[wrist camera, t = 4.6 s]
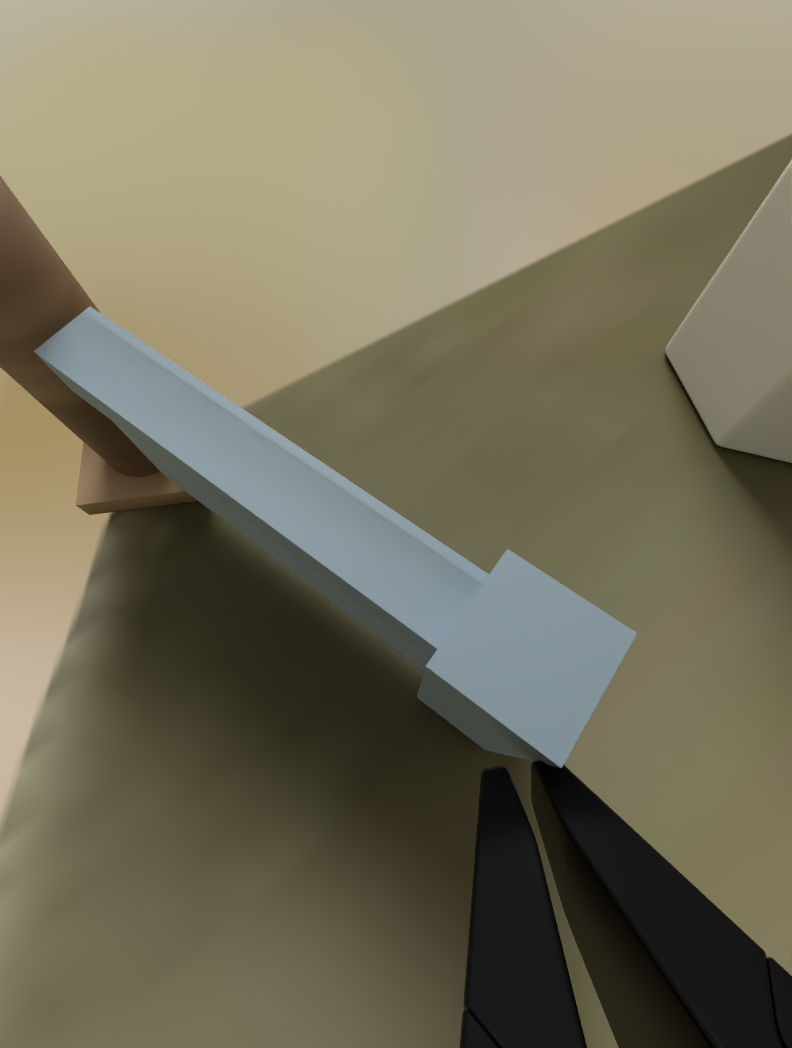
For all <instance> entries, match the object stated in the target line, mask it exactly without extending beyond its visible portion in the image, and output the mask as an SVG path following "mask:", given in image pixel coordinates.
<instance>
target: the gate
mask: <svg viewBox="0 0 792 1048" xmlns="http://www.w3.org/2000/svg"><path fill="white" fill-rule="evenodd" d="M34 352H35V353H36V354H37V356H38V357H39V358H40V359H41V360H42V361H43V362H44V363H45V364H46V365H47V366H48V367H49V368H50V369H51V370H52V371H53V372H54V373H55V374H56V375H57V376H58V377H59V378H60V379H61V380H62V381H63V382H64V383H65V384H66V385H67V386H68V387H69V388H70V389H71V390H72V391H73V392H74V393H76V394H77V395H78V396H80V397H81V398H82V399H84V400H85V401H86V402H88V403H89V404H90V405H92V406H93V407H94V408H96V409H97V410H98V411H100V412H101V413H102V414H104V415H105V416H107V417H108V418H109V419H111V420H112V421H113V422H114V423H115V424H116V425H117V426H118V427H119V429H120V430H121V431H122V432H123V433H124V434H125V435H126V436H127V437H128V438H129V439H130V440H131V441H132V442H133V443H134V444H135V445H136V446H137V447H138V449H139V450H140V451H141V452H142V453H143V454H144V455H145V456H146V457H147V458H148V459H149V460H150V461H151V462H152V463H153V464H154V465H155V466H156V468H157V469H158V470H159V471H160V472H161V473H162V474H163V475H165V476H166V477H167V478H169V479H170V480H171V481H173V482H174V483H175V484H177V485H178V486H179V487H180V488H182V489H183V490H184V491H186V492H187V493H188V494H190V495H191V496H192V497H194V498H195V499H196V500H198V501H199V502H200V503H202V504H203V505H204V506H206V507H207V508H208V509H210V510H211V511H212V512H214V513H215V514H216V515H218V516H219V517H220V518H221V519H223V520H224V521H225V522H227V523H228V524H229V525H231V526H232V527H233V528H235V529H236V530H237V531H239V532H240V533H241V534H243V535H244V536H245V537H247V538H248V539H249V540H251V541H252V542H253V543H255V544H256V545H257V546H259V547H260V548H261V549H262V550H264V551H265V552H266V553H268V554H269V555H270V556H272V557H273V558H274V559H276V560H277V561H278V562H280V563H281V564H282V565H284V566H285V567H286V568H288V569H289V570H290V571H292V572H293V573H294V574H296V575H297V576H298V577H300V578H301V579H302V580H303V581H305V582H306V583H307V584H309V585H310V586H311V587H313V588H314V589H315V590H317V591H318V592H319V593H321V594H322V595H323V596H325V597H326V598H327V599H329V600H330V601H331V602H333V603H334V604H335V605H337V606H338V607H339V608H341V609H342V610H343V611H344V612H346V613H347V614H348V615H350V616H351V617H352V618H354V619H355V620H356V621H358V622H359V623H360V624H362V625H363V626H364V627H366V628H367V629H368V630H370V631H371V632H372V633H374V634H375V635H376V636H378V637H379V638H380V639H382V640H383V641H384V642H385V643H387V644H388V645H389V646H391V647H392V648H393V649H395V650H396V651H397V652H399V653H400V654H401V655H403V656H404V657H405V658H407V659H408V660H409V661H411V662H412V663H413V664H415V665H416V666H417V667H419V668H420V669H421V670H423V671H424V673H423V677H422V680H421V684H420V687H419V691H418V694H417V698H418V699H419V700H421V701H422V702H423V703H425V704H426V705H427V706H428V707H430V708H431V709H432V710H434V711H435V712H436V713H437V714H439V715H440V716H441V717H443V718H444V719H445V720H447V721H448V722H449V723H450V724H452V725H453V726H454V727H456V728H457V729H458V730H459V731H461V732H462V733H463V734H465V735H466V736H467V737H468V738H470V739H471V740H472V741H474V742H475V743H476V744H477V745H479V746H480V747H481V748H483V749H484V750H487V751H491V752H495V753H500V754H504V755H508V756H512V757H516V758H521V759H525V760H529V761H536V760H541V761H543V762H544V763H546V764H548V765H550V766H554V767H559V768H562V766H563V764H564V763H565V761H566V759H567V757H568V756H569V754H570V752H571V750H572V748H573V747H574V745H575V743H576V741H577V740H578V738H579V736H580V734H581V732H582V731H583V729H584V727H585V725H586V724H587V722H588V720H589V718H590V716H591V715H592V713H593V711H594V709H595V708H596V706H597V704H598V702H599V700H600V699H601V697H602V695H603V693H604V692H605V690H606V688H607V686H608V684H609V683H610V681H611V679H612V677H613V676H614V674H615V672H616V670H617V668H618V667H619V665H620V663H621V661H622V660H623V658H624V656H625V654H626V652H627V651H628V649H629V647H630V645H631V643H632V642H633V640H634V638H635V636H636V635H637V633H636V632H634V631H633V630H631V629H630V628H628V627H627V626H625V625H624V624H622V623H621V622H619V621H617V620H616V619H614V618H613V617H611V616H610V615H608V614H607V613H605V612H604V611H602V610H601V609H599V608H597V607H596V606H594V605H593V604H591V603H590V602H588V601H587V600H585V599H584V598H582V597H581V596H579V595H578V594H576V593H574V592H573V591H571V590H570V589H568V588H567V587H565V586H564V585H562V584H561V583H559V582H558V581H556V580H555V579H553V578H551V577H550V576H548V575H547V574H545V573H544V572H542V571H541V570H539V569H538V568H536V567H535V566H533V565H531V564H530V563H528V562H527V561H525V560H524V559H522V558H521V557H519V556H518V555H516V554H515V553H513V552H512V551H510V550H508V549H507V550H506V552H505V553H504V555H503V556H502V557H501V559H500V560H499V562H498V563H497V565H496V566H495V567H494V569H493V570H492V572H491V573H490V575H489V574H487V573H486V572H484V571H483V570H481V569H480V568H478V567H477V566H475V565H474V564H472V563H471V562H469V561H468V560H466V559H465V558H463V557H462V556H460V555H459V554H457V553H456V552H454V551H453V550H451V549H450V548H449V547H447V546H446V545H444V544H443V543H441V542H440V541H438V540H437V539H435V538H434V537H432V536H431V535H429V534H428V533H426V532H425V531H423V530H422V529H420V528H419V527H417V526H416V525H414V524H413V523H411V522H410V521H408V520H407V519H405V518H404V517H402V516H401V515H399V514H398V513H397V512H395V511H394V510H392V509H391V508H389V507H388V506H386V505H385V504H383V503H382V502H380V501H379V500H377V499H376V498H374V497H373V496H371V495H370V494H368V493H367V492H365V491H364V490H362V489H361V488H359V487H358V486H356V485H355V484H353V483H352V482H350V481H349V480H347V479H346V478H345V477H343V476H342V475H340V474H339V473H337V472H336V471H334V470H333V469H331V468H330V467H328V466H327V465H325V464H324V463H322V462H321V461H319V460H318V459H316V458H315V457H313V456H312V455H310V454H309V453H307V452H306V451H304V450H303V449H301V448H300V447H298V446H297V445H295V444H294V443H293V442H291V441H290V440H288V439H287V438H285V437H284V436H282V435H281V434H279V433H278V432H276V431H275V430H273V429H272V428H270V427H269V426H267V425H266V424H264V423H263V422H261V421H260V420H258V419H257V418H255V417H254V416H252V415H251V414H249V413H248V412H246V411H245V410H243V409H242V408H240V407H239V406H238V405H236V404H235V403H233V402H232V401H230V400H229V399H227V398H226V397H224V396H223V395H221V394H220V393H218V392H217V391H215V390H214V389H212V388H211V387H209V386H208V385H206V384H205V383H203V382H202V381H200V380H198V379H197V378H196V377H194V376H193V375H191V374H190V373H188V372H187V371H186V370H184V369H183V368H181V367H180V366H178V365H177V364H175V363H174V362H172V361H171V360H169V359H168V358H166V357H164V356H163V355H162V354H160V353H159V352H157V351H156V350H154V349H153V348H151V347H150V346H148V345H147V344H145V343H144V342H142V341H141V340H139V339H138V338H136V337H135V336H133V335H132V334H131V333H129V332H127V331H126V330H125V329H123V328H122V327H120V326H119V325H117V324H116V323H114V322H113V321H111V320H110V319H108V318H107V317H105V316H104V315H102V314H101V313H99V312H98V311H96V310H95V309H93V308H92V307H88V308H87V309H86V310H85V311H83V312H82V313H81V314H80V315H78V316H77V317H76V318H75V319H73V320H72V321H71V322H70V323H68V324H67V325H66V326H65V327H63V328H62V329H61V330H60V331H58V332H57V333H56V334H55V335H53V336H52V337H51V338H50V339H48V340H47V341H46V342H45V343H43V344H42V345H41V346H40V347H38V348H37V349H36V350H34Z"/></svg>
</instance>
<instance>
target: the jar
mask: <svg viewBox="0 0 792 1048" xmlns="http://www.w3.org/2000/svg"><path fill="white" fill-rule="evenodd" d="M665 353H666V355H667V357H668V359H669V360H670V362H671V364H672V366H673V368H674V370H675V371H676V373H677V375H678V377H679V379H680V380H681V382H682V384H683V386H684V388H685V390H686V391H687V393H688V395H689V397H690V399H691V400H692V402H693V404H694V406H695V408H696V410H697V411H698V413H699V415H700V417H701V419H702V420H703V422H704V424H705V426H706V428H707V429H708V431H709V433H710V435H711V437H712V439H713V440H714V442H715V443H716V445H718V446H720V447H725V448H729V449H733V450H737V451H742V452H746V453H750V454H754V455H759V456H763V457H767V458H771V459H776V460H780V461H784V462H788V463H792V160H791V161H790V163H789V164H788V166H787V167H786V169H785V170H784V172H783V173H782V175H781V176H780V178H779V179H778V181H777V182H776V184H775V185H774V187H773V188H772V190H771V191H770V192H769V194H768V195H767V197H766V198H765V200H764V201H763V203H762V204H761V206H760V207H759V209H758V210H757V212H756V213H755V215H754V216H753V218H752V219H751V221H750V222H749V224H748V225H747V227H746V228H745V230H744V231H743V233H742V234H741V236H740V237H739V239H738V240H737V242H736V243H735V245H734V246H733V248H732V249H731V250H730V252H729V253H728V255H727V256H726V258H725V259H724V261H723V262H722V264H721V265H720V267H719V268H718V270H717V271H716V273H715V274H714V276H713V277H712V279H711V280H710V282H709V283H708V285H707V286H706V288H705V289H704V291H703V292H702V294H701V295H700V297H699V298H698V300H697V301H696V303H695V304H694V306H693V307H692V308H691V310H690V311H689V313H688V314H687V316H686V317H685V319H684V320H683V322H682V323H681V325H680V326H679V328H678V329H677V331H676V332H675V334H674V335H673V337H672V338H671V340H670V341H669V343H668V344H667V346H666V348H665Z"/></svg>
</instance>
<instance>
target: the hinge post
mask: <svg viewBox="0 0 792 1048" xmlns="http://www.w3.org/2000/svg"><path fill="white" fill-rule="evenodd" d="M88 307H92V308H93V309H95V310H96V311H98V312H99V310H98V309H97V307H96V306H95V305H94V303H93V302H92V301H91V299H90V298H89V297H88V295H87V294H86V292H85V291H84V290H83V288H82V287H81V286H80V284H79V283H78V282H77V280H76V279H75V277H74V276H73V275H72V273H71V272H70V271H69V269H68V268H67V267H66V265H65V264H64V262H63V261H62V260H61V258H60V257H59V256H58V254H57V253H56V251H55V250H54V249H53V247H52V246H51V245H50V243H49V242H48V240H47V239H46V238H45V236H44V235H43V234H42V233H41V231H40V230H39V228H38V227H37V225H36V224H35V223H34V221H33V220H32V219H31V217H30V216H29V215H28V213H27V212H26V210H25V209H24V208H23V206H22V205H21V204H20V202H19V201H18V199H17V198H16V197H15V195H14V194H13V193H12V191H11V190H10V189H9V187H8V186H7V185H6V183H5V182H4V180H3V179H2V178H1V176H0V367H1V368H2V369H3V370H4V371H5V372H6V373H8V374H9V375H10V376H11V377H12V378H13V379H14V380H16V381H17V382H18V383H19V384H20V385H21V386H22V387H23V388H24V389H25V390H26V391H28V392H29V393H30V394H31V395H32V396H33V397H34V398H35V399H36V400H38V401H39V402H40V403H41V404H42V405H43V406H44V407H46V408H47V409H48V410H49V411H50V412H51V413H52V414H53V415H54V416H55V417H57V418H58V419H59V420H60V421H61V422H62V423H63V424H64V425H66V426H67V427H68V428H69V429H70V430H71V431H72V432H73V433H74V434H76V435H77V436H78V437H79V438H80V439H81V440H83V442H84V445H83V453H82V460H81V468H80V476H79V484H78V492H77V500H76V506H77V507H79V508H81V509H82V510H83V511H85V512H87V513H88V514H89V515H92V514H100V513H108V512H116V511H124V510H132V509H140V508H148V507H156V506H164V505H173V504H181V503H189V502H197V501H198V500H196V499H195V498H194V497H192V496H191V495H190V494H188V493H187V492H186V491H184V490H183V489H182V488H180V487H179V486H178V485H177V484H175V483H174V482H173V481H171V480H170V479H169V478H167V477H166V476H165V475H163V474H162V473H161V472H160V471H159V470H158V469H157V468H156V466H155V465H154V464H153V463H152V462H151V461H150V460H149V459H148V458H147V457H146V456H145V455H144V454H143V453H142V452H141V451H140V450H139V449H138V447H137V446H136V445H135V444H134V443H133V442H132V441H131V440H130V439H129V438H128V437H127V436H126V435H125V434H124V433H123V432H122V431H121V430H120V429H119V427H118V426H117V425H116V424H115V423H114V422H113V421H112V420H111V419H109V418H108V417H107V416H105V415H104V414H102V413H101V412H100V411H98V410H97V409H96V408H94V407H93V406H92V405H90V404H89V403H88V402H86V401H85V400H84V399H82V398H81V397H80V396H78V395H77V394H76V393H74V392H73V391H72V390H71V389H70V388H69V387H68V386H67V385H66V384H65V383H64V382H63V381H62V380H61V379H60V378H59V377H58V376H57V375H56V374H55V373H54V372H53V371H52V370H51V369H50V368H49V367H48V366H47V365H46V364H45V363H44V362H43V361H42V360H41V359H40V358H39V357H38V356H37V354H36V353H35V352H34V350H36V349H37V348H38V347H40V346H41V345H42V344H43V343H45V342H46V341H47V340H48V339H50V338H51V337H52V336H53V335H55V334H56V333H57V332H58V331H60V330H61V329H62V328H63V327H65V326H66V325H67V324H68V323H70V322H71V321H72V320H73V319H75V318H76V317H77V316H78V315H80V314H81V313H82V312H83V311H85V310H86V309H87V308H88ZM99 313H100V312H99Z"/></svg>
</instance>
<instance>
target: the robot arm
mask: <svg viewBox="0 0 792 1048" xmlns="http://www.w3.org/2000/svg"><path fill="white" fill-rule="evenodd" d="M531 797H532V804H533V808H534V812H535V815H536V819H537V822H538V826H539V829H540V832H541V836H542V839H543V842H544V846H545V849H546V853H547V856H548V859H549V863H550V866H551V869H552V873H553V876H554V880H555V883H556V886H557V890H558V893H559V896H560V899H561V903H562V906H563V909H564V912H565V915H566V917H567V920H568V923H569V925H570V928H571V931H572V933H573V936H574V938H575V941H576V943H577V946H578V948H579V951H580V953H581V956H582V958H583V961H584V963H585V965H586V968H587V970H588V973H589V975H590V978H591V980H592V983H593V985H594V988H595V990H596V993H597V995H598V998H599V1000H600V1003H601V1005H602V1008H603V1010H604V1012H605V1015H606V1017H607V1020H608V1022H609V1025H610V1027H611V1030H612V1032H613V1035H614V1037H615V1040H616V1042H617V1045H618V1047H619V1048H792V976H791V975H790V974H789V973H788V972H787V971H786V970H785V969H783V968H782V967H781V966H780V965H779V964H778V963H777V962H776V961H775V960H774V959H773V958H771V957H768V958H767V959H766V954H765V952H764V950H763V949H762V948H761V947H760V946H758V945H757V944H756V943H755V942H754V941H753V940H752V939H751V938H750V937H749V936H748V935H747V934H746V933H744V932H743V931H742V930H741V929H740V928H739V927H738V926H737V925H736V924H735V923H734V922H733V921H732V920H730V919H729V918H728V917H727V916H726V915H725V914H724V913H723V912H722V911H721V910H720V909H719V908H718V907H716V906H715V905H714V904H713V903H712V902H711V901H710V900H709V899H708V898H707V897H706V896H705V895H704V894H702V893H701V892H700V891H699V890H698V889H697V888H696V887H695V886H694V885H693V884H692V883H691V882H690V881H688V880H687V879H686V878H685V877H684V876H683V875H682V874H681V873H680V872H679V871H678V870H677V869H676V868H674V867H673V866H672V865H671V864H670V863H669V862H668V861H667V860H666V859H665V858H664V857H663V856H662V855H660V854H659V853H658V852H657V851H656V850H655V849H654V848H653V847H652V846H651V845H650V844H649V843H647V842H646V841H645V840H644V839H643V838H642V837H641V836H640V835H639V834H638V833H637V832H636V831H635V830H633V829H632V828H631V827H630V826H629V825H628V824H627V823H626V822H625V821H624V820H623V819H622V818H621V817H619V816H618V815H617V814H616V813H615V812H614V811H613V810H612V809H611V808H610V807H609V806H608V805H607V804H605V803H604V802H603V801H602V800H601V799H600V798H599V797H598V796H597V795H596V794H595V793H594V792H593V791H591V790H590V789H589V788H588V787H587V786H586V785H585V784H584V783H583V782H582V781H581V780H580V779H579V778H577V777H576V776H575V775H574V774H573V773H572V772H571V771H570V770H569V769H568V768H567V767H566V766H565V765H563V766H562V768H559V767H554V766H550V765H548V764H546V763H544V762H543V761H541V760H536V761H533V763H532V765H531ZM460 1048H587V1046H586V1042H585V1038H584V1034H583V1030H582V1026H581V1021H580V1017H579V1013H578V1009H577V1005H576V1001H575V997H574V993H573V989H572V985H571V980H570V976H569V972H568V968H567V964H566V960H565V956H564V952H563V948H562V944H561V939H560V935H559V931H558V927H557V923H556V919H555V915H554V911H553V907H552V903H551V898H550V894H549V890H548V886H547V882H546V878H545V874H544V870H543V866H542V862H541V858H540V853H539V850H538V846H537V843H536V839H535V836H534V833H533V831H532V828H531V826H530V823H529V821H528V818H527V816H526V813H525V811H524V808H523V806H522V804H521V801H520V799H519V796H518V794H517V791H516V789H515V786H514V784H513V782H512V779H511V777H510V774H509V772H508V770H507V769H506V767H504V766H497V767H491V768H485V769H483V770H482V773H481V784H480V797H479V810H478V823H477V836H476V849H475V862H474V875H473V888H472V901H471V914H470V927H469V940H468V953H467V966H466V979H465V992H464V1012H463V1014H462V1026H461V1039H460Z"/></svg>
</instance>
